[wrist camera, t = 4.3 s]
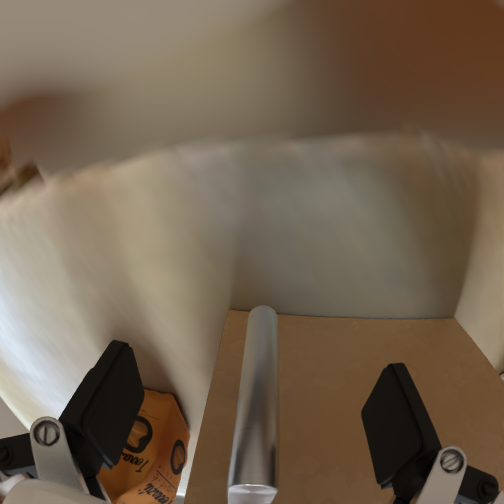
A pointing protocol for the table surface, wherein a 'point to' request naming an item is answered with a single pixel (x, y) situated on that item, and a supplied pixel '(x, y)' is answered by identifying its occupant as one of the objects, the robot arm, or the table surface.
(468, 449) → the door
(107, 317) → the table surface
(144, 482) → the coffee package
